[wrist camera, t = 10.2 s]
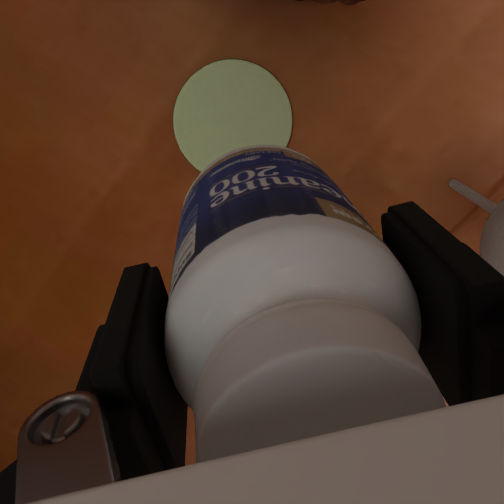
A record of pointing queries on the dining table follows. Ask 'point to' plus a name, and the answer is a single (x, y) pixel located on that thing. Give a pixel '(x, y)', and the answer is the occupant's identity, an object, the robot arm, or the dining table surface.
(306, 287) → the pill bottle
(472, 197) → the lollipop
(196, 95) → the coaster
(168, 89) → the dining table surface
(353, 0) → the wooden figurine
